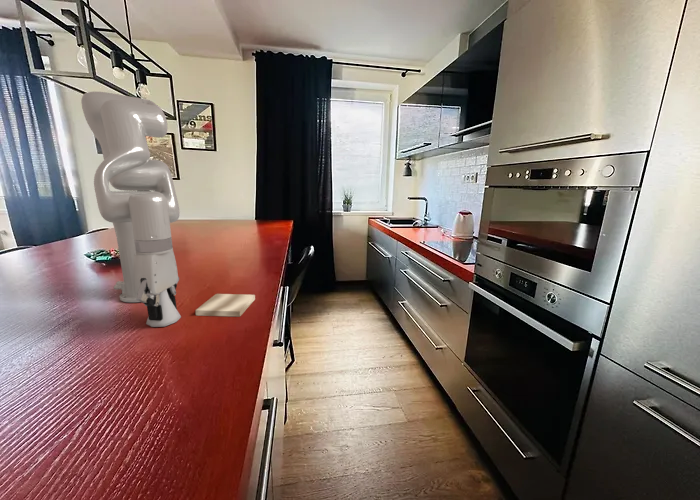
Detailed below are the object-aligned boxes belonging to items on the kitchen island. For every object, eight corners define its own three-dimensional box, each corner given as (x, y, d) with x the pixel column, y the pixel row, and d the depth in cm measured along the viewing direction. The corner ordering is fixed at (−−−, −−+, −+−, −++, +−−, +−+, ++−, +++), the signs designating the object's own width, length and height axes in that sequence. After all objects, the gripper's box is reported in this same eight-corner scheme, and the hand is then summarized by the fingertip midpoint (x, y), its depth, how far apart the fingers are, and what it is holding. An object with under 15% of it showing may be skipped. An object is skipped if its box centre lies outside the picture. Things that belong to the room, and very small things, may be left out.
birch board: (195, 315, 79) (195, 310, 79) (216, 298, 91) (216, 293, 90) (240, 316, 79) (239, 311, 79) (255, 299, 91) (254, 294, 90)
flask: (165, 329, 71) (159, 291, 69) (139, 326, 73) (134, 288, 70) (186, 316, 78) (182, 281, 76) (163, 313, 80) (159, 278, 77)
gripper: (161, 238, 79) (169, 301, 83) (110, 253, 63) (123, 330, 67) (189, 239, 79) (195, 302, 83) (144, 254, 63) (155, 332, 67)
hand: (163, 314), depth 75 cm, fingers closed on flask, 4 cm apart
